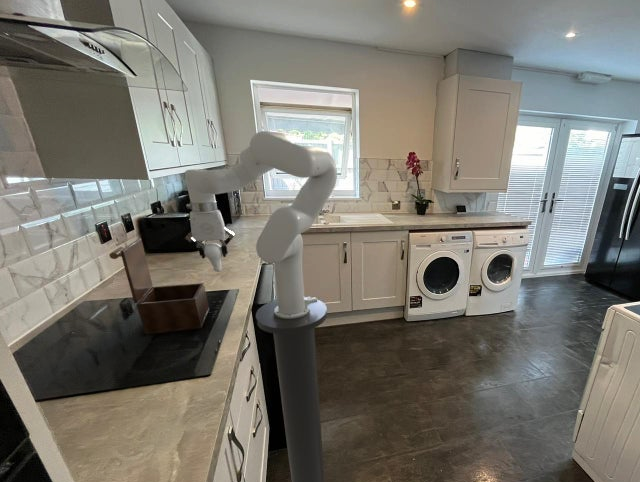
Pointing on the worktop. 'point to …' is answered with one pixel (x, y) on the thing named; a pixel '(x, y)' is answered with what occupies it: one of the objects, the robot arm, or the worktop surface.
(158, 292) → the chest
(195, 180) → the robot arm
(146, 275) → the lid
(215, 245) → the lightbulb
